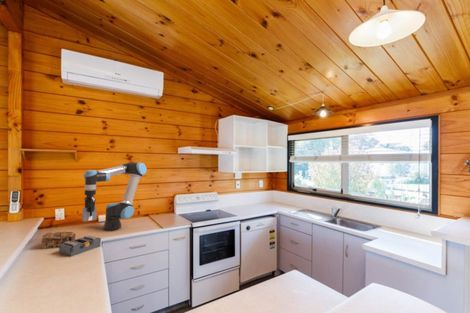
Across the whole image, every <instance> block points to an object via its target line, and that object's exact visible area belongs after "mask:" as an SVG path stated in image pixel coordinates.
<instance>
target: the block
mask: <svg viewBox="0 0 470 313" xmlns="http://www.w3.org/2000/svg"><path fill="white" fill-rule="evenodd" d="M97 207H98V206H96V205H95V208H94V211H93V214H92V220H89V221H88V211H89V207H86V208H85V207H82V212H81V213H82V217H81V218H82V219H81V221H82V222H90V221H95V220H97V210H98V209H97Z"/></svg>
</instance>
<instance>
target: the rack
mask: <svg viewBox="0 0 470 313" xmlns="http://www.w3.org/2000/svg"><path fill="white" fill-rule="evenodd" d="M101 241H102V238H101V237H96V236H92V235H87V234H86V235H84V236H83V237H80V238H75V240H72V241H67V242H64V243H62V244H59V248H58V254H61V255H64V256H67V257H74V256H77V255H80V254H84V253H85V252H88V251H91V250H94V249H97V248H100V247H101V244H102V243H101Z"/></svg>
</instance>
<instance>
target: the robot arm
mask: <svg viewBox="0 0 470 313" xmlns="http://www.w3.org/2000/svg"><path fill="white" fill-rule="evenodd" d="M146 173H147V166H146V165H145V163H143V162H127V163H122V164H119V165H118V166H113V167H109V168H103V169H100V170H94V169H93V170H92V169H89V170H86V171H85V172H84V174H83V179H84V183H85V184H84V196H86V197H84V208H86V207H89V211H88V221H87V222H90V221H93V220H92V214H93V211H94V208H95V206H96V198H95V197H94V196H95V195H96V194H97V191H96V189H97V183H98V182H99V183H101V182H109V181H110V180H111V177H112V176H117V175H129V181H128V182H127V186H126V189H125V192H124V196H123V198H122V200H121V201H119V202H114V203H108V204H106V206H105V222H104V225H103V227H102V229H103V230H104V231H116V230H119V228H120V229H121V228H122V221H121V219H122V220H128V219H130V218H132V217H133V216H134V212H135V208H134V204H133V202H134V198H135V194H136V191H137V188H138V186H139V181H140V180H141V179H142V178H143V176H144V175H146ZM89 220H90V221H89ZM115 229H116V230H115Z"/></svg>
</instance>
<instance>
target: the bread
mask: <svg viewBox="0 0 470 313" xmlns="http://www.w3.org/2000/svg"><path fill="white" fill-rule="evenodd" d="M76 236H77V235H76V233H75V232H73V231H56V232H47V233H45V234H44V235H43V236H42V239H41V249H42V250H43V249H44V250H45V249H59V244H62V243H64V242H67V241H72V240H76Z"/></svg>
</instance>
